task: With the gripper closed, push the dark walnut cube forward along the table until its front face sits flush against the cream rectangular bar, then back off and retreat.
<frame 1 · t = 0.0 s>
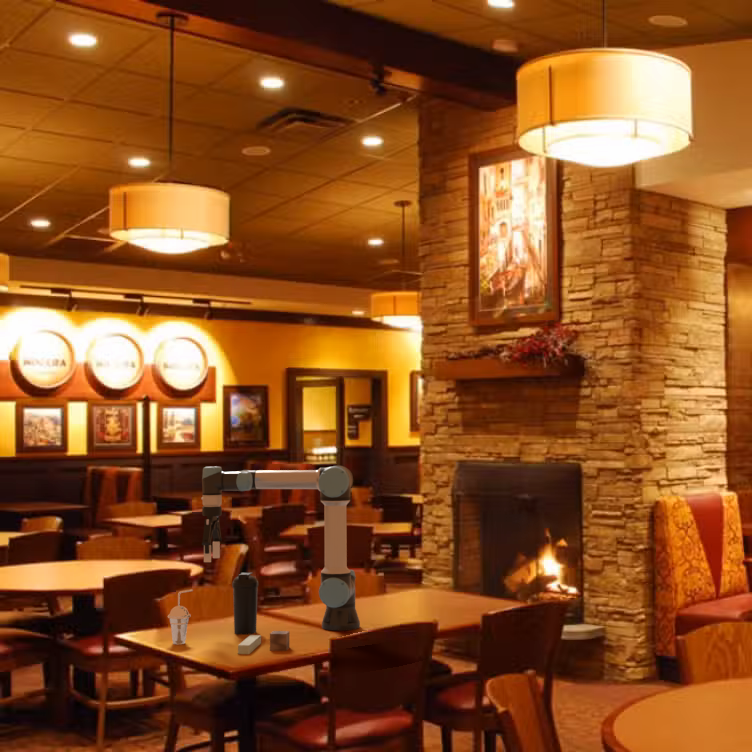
hand: (211, 560, 439), 28 cm above the table, fingers open, 13 cm apart
water bottle: (245, 633, 437), on the table
cream rectangular bar: (249, 648, 404), on the table
cup with straw: (179, 643, 415), on the table
block: (279, 649, 403), on the table
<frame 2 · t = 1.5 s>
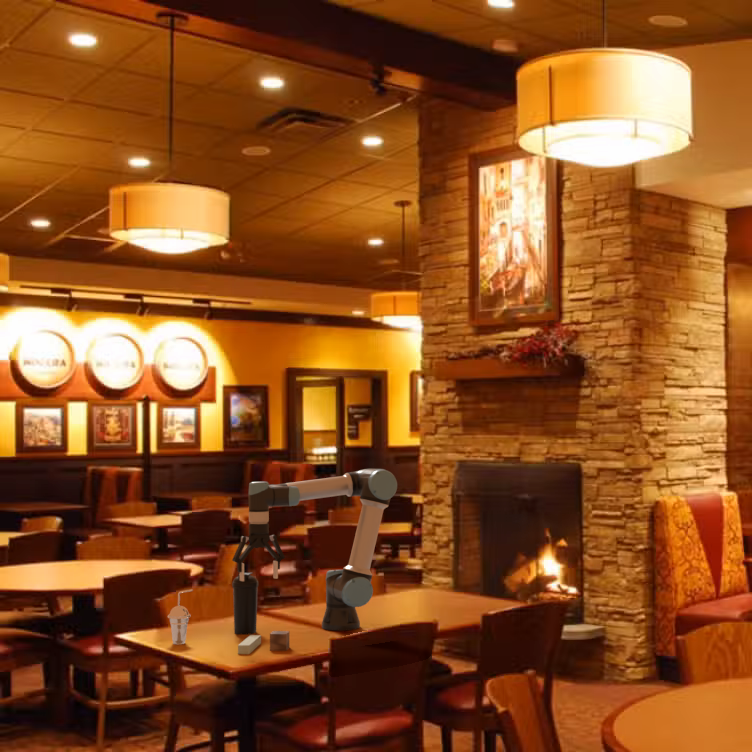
hand: (258, 579, 420), 23 cm above the table, fingers open, 13 cm apart
nothing on the table moved.
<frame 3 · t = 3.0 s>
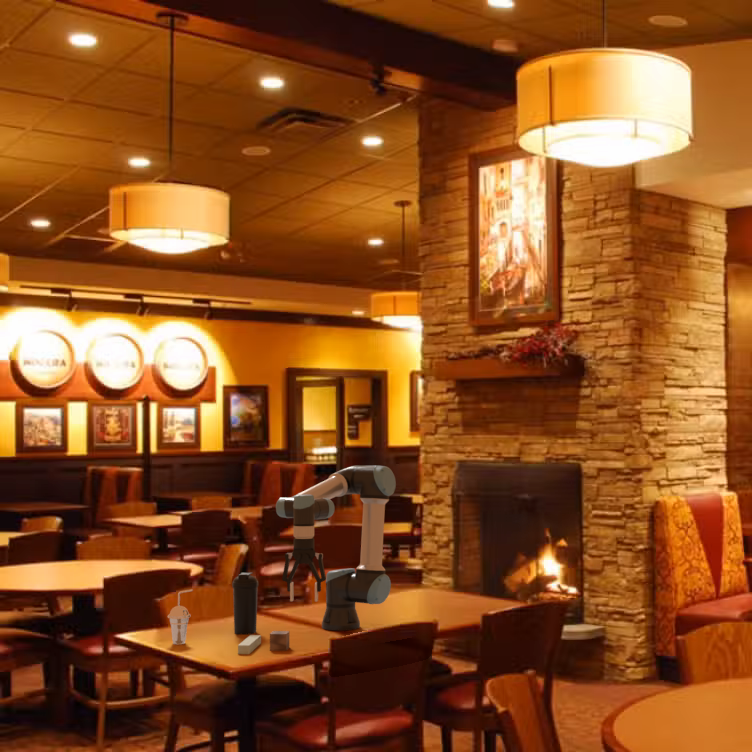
hand: (304, 600, 403), 17 cm above the table, fingers open, 8 cm apart
nothing on the table moved.
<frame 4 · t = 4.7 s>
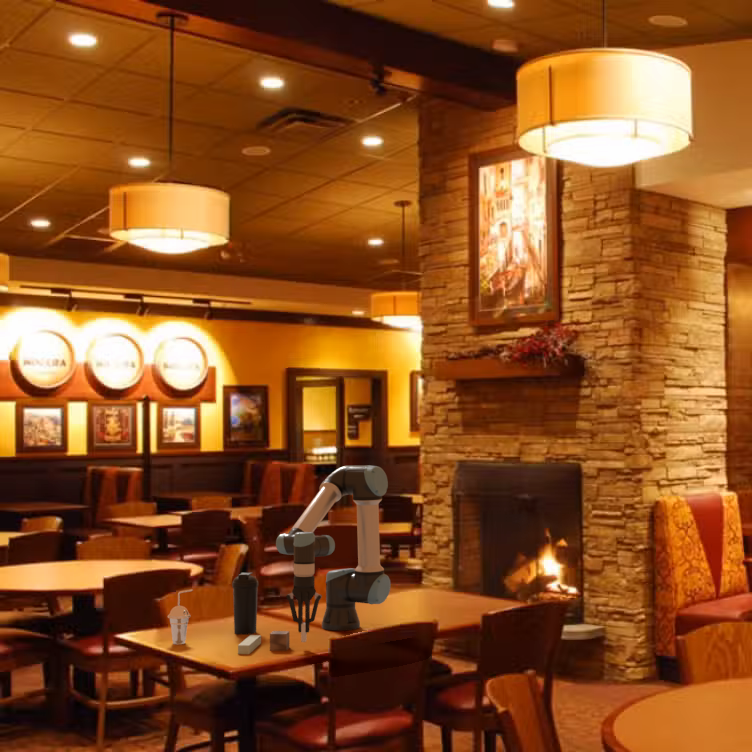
hand: (303, 641, 402), 3 cm above the table, fingers closed
nothing on the table moved.
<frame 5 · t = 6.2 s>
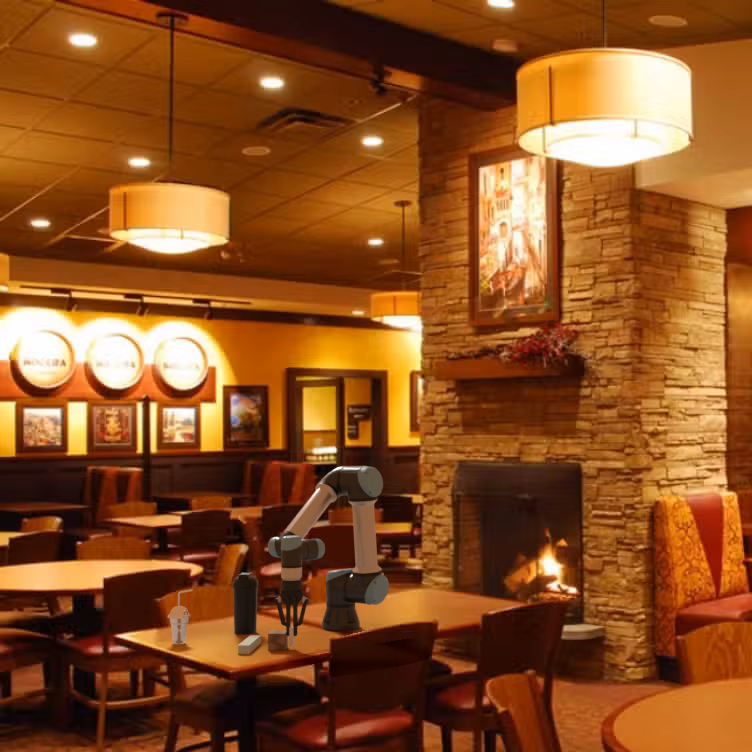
hand: (292, 645, 402), 1 cm above the table, fingers closed
block: (277, 648, 403), on the table, touching gripper
everything else where it was.
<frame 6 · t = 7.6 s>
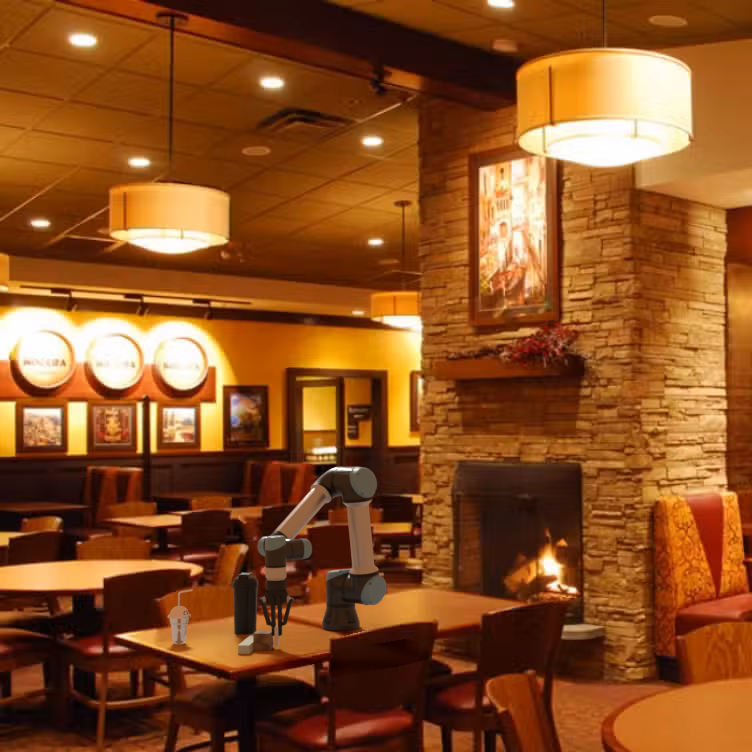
hand: (277, 644, 403), 1 cm above the table, fingers closed
block: (263, 648, 404), on the table, touching cream rectangular bar, gripper
everything else where it was.
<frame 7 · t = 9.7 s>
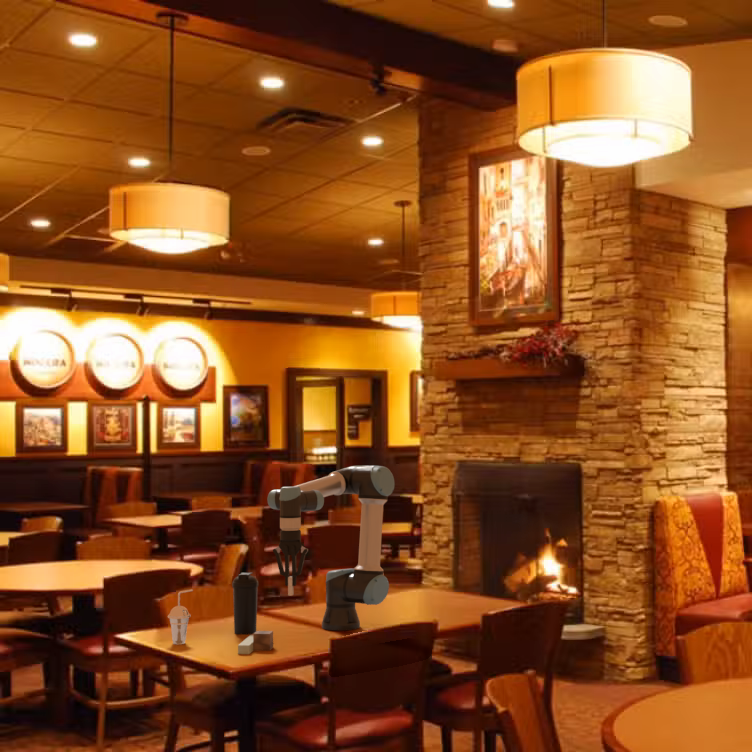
hand: (290, 594, 404), 19 cm above the table, fingers closed
block: (263, 649, 404), on the table
everything else where it was.
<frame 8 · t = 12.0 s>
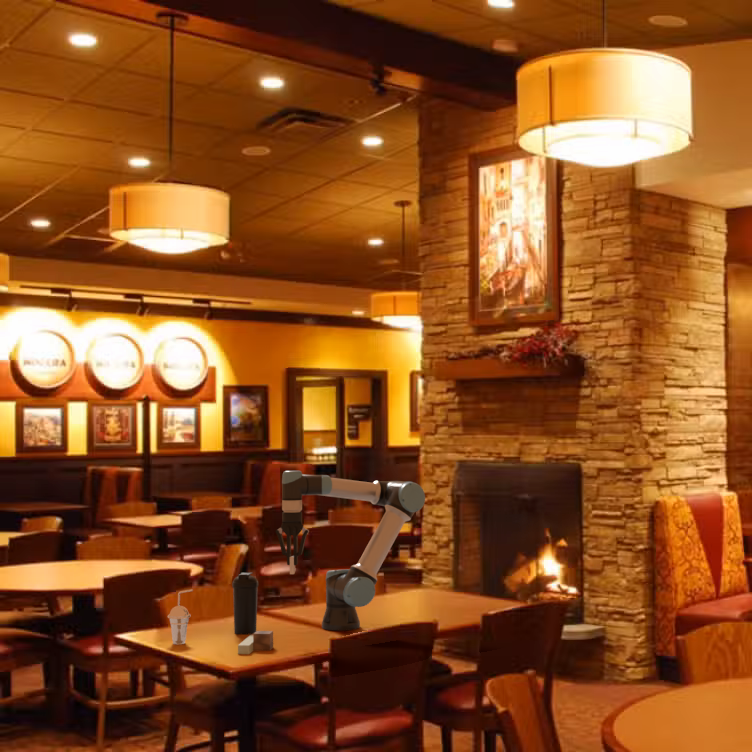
hand: (292, 573, 424), 24 cm above the table, fingers closed
nothing on the table moved.
at the end: block inside the target area on the table beside the cream rectangular bar (0.5 cm from its centre), on the table; block tilted 0° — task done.
